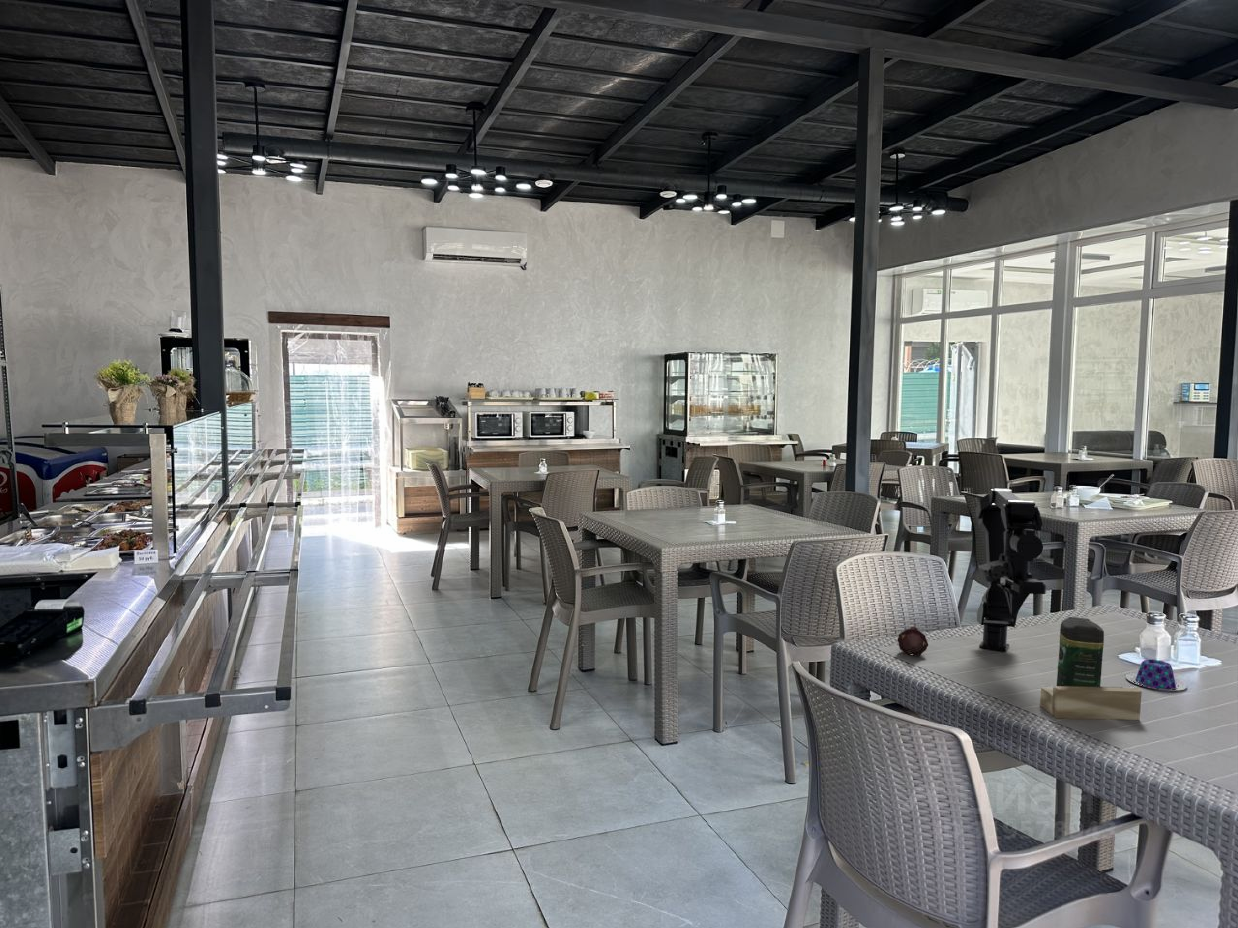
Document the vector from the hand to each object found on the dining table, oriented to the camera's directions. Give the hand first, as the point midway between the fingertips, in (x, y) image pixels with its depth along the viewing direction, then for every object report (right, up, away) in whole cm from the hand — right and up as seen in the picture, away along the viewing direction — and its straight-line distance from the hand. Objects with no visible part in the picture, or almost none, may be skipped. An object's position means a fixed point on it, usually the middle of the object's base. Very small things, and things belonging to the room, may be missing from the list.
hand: (1013, 614), depth 203 cm
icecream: (-21, -12, +9) cm, 26 cm away
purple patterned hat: (+29, -15, -9) cm, 34 cm away
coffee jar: (+2, -15, -24) cm, 29 cm away
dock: (+2, -15, -29) cm, 33 cm away
